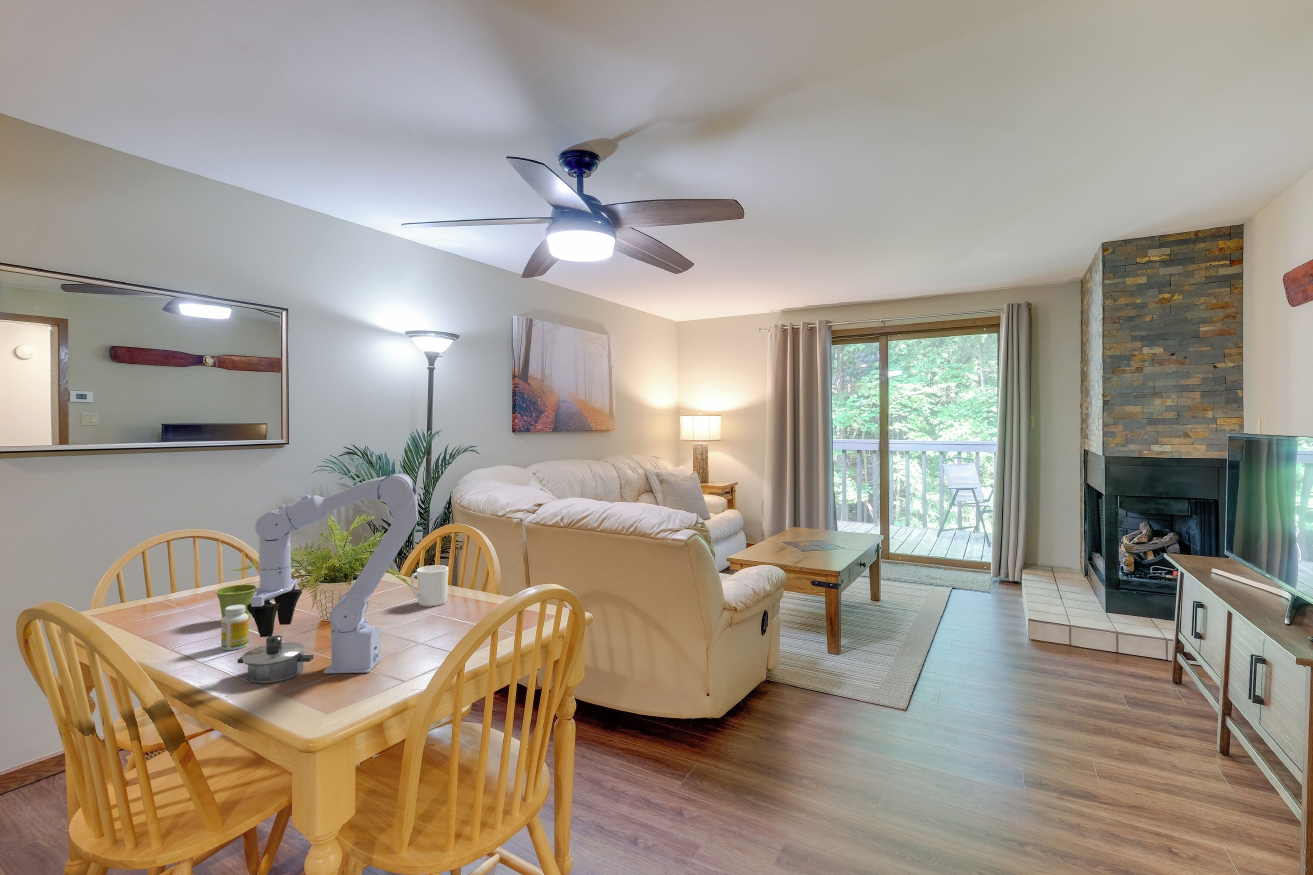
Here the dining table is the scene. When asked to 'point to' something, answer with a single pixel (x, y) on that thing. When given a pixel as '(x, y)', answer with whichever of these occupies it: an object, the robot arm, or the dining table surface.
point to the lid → (273, 652)
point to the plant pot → (235, 596)
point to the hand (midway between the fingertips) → (276, 630)
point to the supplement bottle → (234, 628)
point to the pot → (276, 670)
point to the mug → (431, 585)
